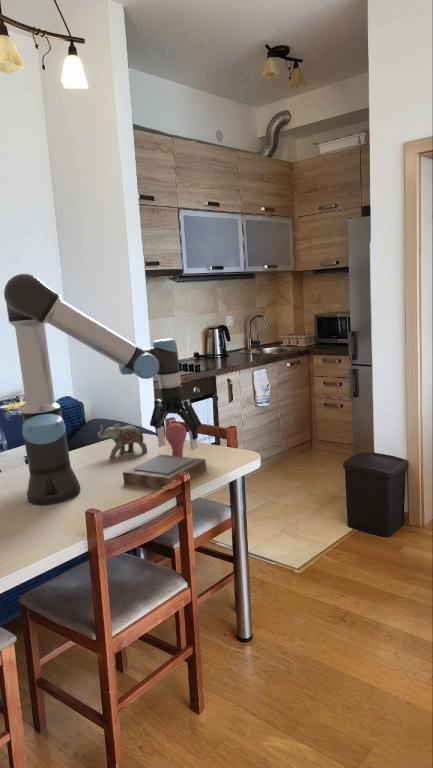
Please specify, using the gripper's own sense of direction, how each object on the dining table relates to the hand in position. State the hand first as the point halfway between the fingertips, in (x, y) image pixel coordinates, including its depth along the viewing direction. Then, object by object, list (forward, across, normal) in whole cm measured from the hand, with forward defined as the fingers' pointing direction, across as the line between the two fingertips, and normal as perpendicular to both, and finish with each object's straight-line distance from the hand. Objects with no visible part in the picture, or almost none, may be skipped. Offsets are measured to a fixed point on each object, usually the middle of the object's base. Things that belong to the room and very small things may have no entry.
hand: (178, 447), depth 194 cm
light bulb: (+4, 0, 0) cm, 4 cm away
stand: (+4, -8, +17) cm, 19 cm away
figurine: (+4, +23, +2) cm, 24 cm away
